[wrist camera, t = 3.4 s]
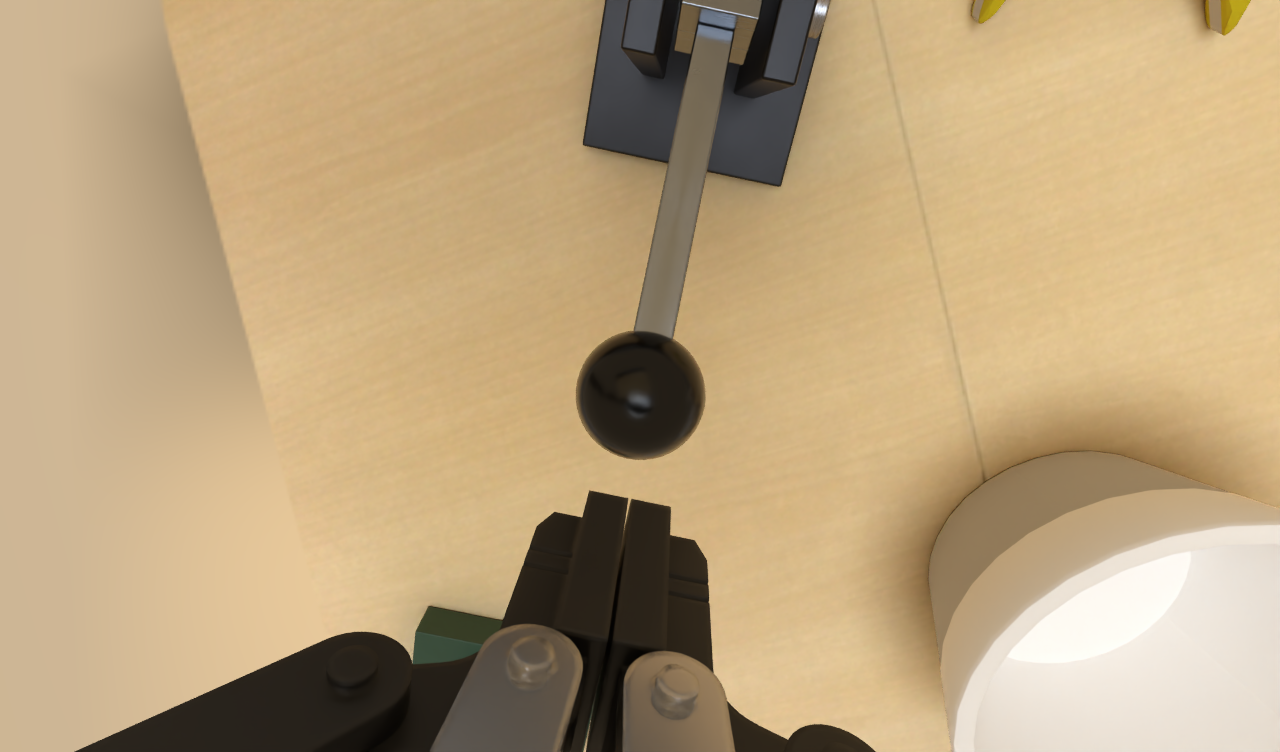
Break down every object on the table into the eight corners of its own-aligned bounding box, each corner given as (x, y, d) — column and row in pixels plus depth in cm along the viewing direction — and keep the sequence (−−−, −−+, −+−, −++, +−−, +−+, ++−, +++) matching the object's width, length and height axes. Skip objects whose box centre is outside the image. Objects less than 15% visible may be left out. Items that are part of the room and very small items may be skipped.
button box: (417, 714, 44) (393, 769, 40) (428, 605, 41) (403, 654, 37) (582, 746, 44) (573, 804, 40) (606, 641, 41) (598, 693, 37)
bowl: (1012, 344, 33) (1157, 442, 23) (1332, 493, 35) (1596, 643, 25) (818, 625, 40) (865, 797, 29) (1095, 738, 41) (1228, 935, 31)
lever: (685, 467, 20) (699, 477, 17) (568, 443, 20) (557, 448, 17) (777, -3, 21) (809, -87, 18) (667, -27, 21) (677, -117, 18)
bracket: (777, 185, 31) (830, 219, 20) (585, 144, 31) (532, 156, 20) (850, -93, 27) (968, -243, 16) (631, -141, 27) (596, -325, 16)
